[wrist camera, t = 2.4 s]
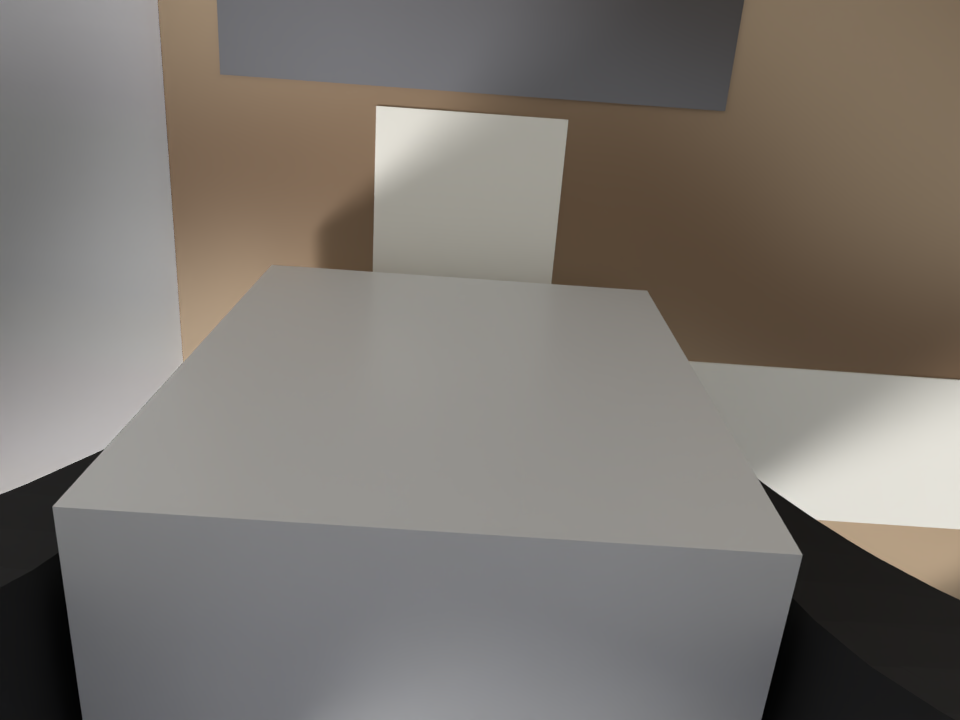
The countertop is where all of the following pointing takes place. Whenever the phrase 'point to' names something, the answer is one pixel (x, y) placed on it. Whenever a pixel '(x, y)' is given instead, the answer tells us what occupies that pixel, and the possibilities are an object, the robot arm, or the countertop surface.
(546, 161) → the letter T
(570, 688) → the grey block
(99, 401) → the countertop surface
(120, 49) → the countertop surface
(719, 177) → the board
